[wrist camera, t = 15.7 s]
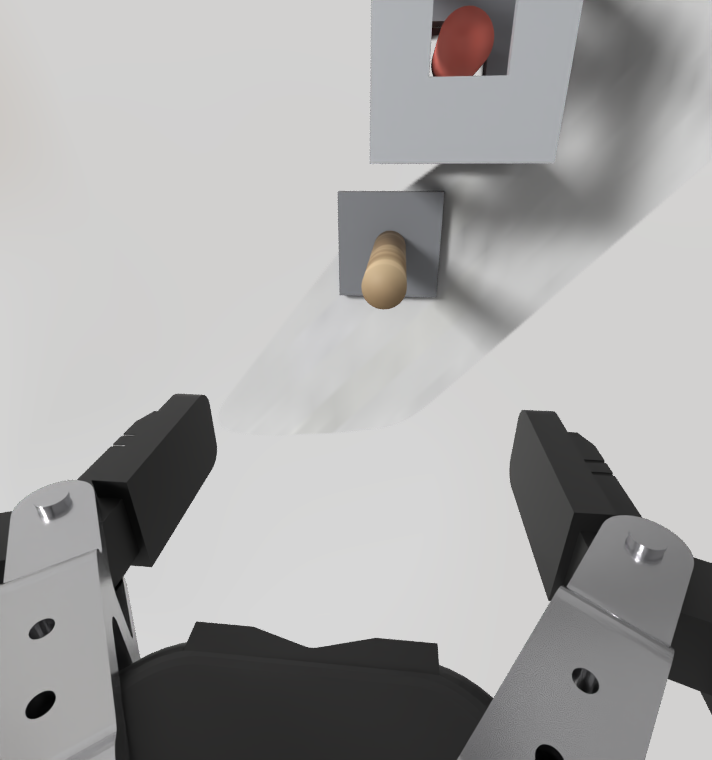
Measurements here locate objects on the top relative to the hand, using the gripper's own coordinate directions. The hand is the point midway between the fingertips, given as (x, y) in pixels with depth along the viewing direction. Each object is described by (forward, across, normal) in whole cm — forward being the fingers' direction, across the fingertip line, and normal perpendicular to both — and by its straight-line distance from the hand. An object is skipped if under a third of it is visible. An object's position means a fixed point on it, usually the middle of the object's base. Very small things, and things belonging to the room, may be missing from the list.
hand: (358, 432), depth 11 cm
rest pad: (+27, 0, 0) cm, 27 cm away
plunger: (+27, -4, -12) cm, 30 cm away
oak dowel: (+26, 0, 0) cm, 27 cm away
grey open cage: (+27, -4, -12) cm, 30 cm away
